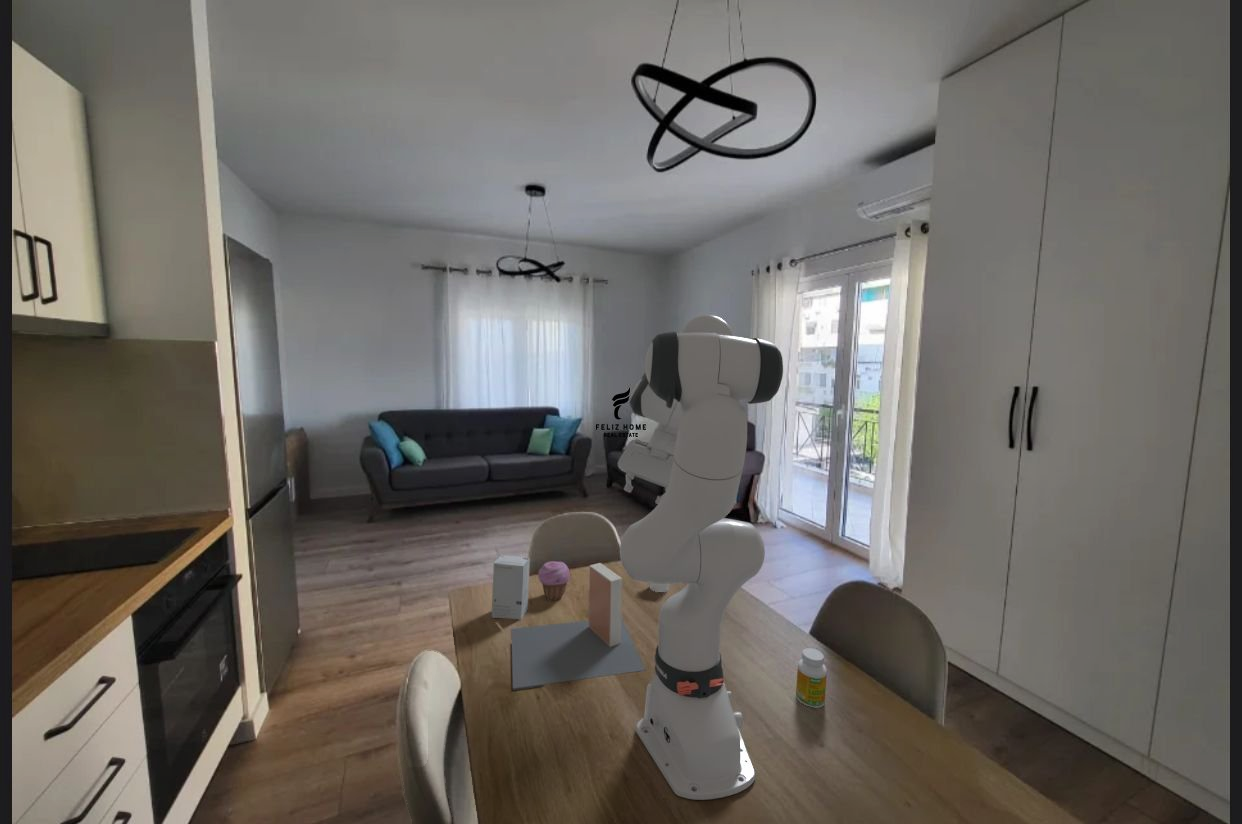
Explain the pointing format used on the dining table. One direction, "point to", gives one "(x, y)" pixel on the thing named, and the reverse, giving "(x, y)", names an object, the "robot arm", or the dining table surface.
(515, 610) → the skincare box
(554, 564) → the cupcake
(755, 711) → the dining table surface
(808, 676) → the supplement bottle
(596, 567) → the plain white box
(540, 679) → the slate mat
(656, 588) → the grey white cylinder
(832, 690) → the dining table surface
